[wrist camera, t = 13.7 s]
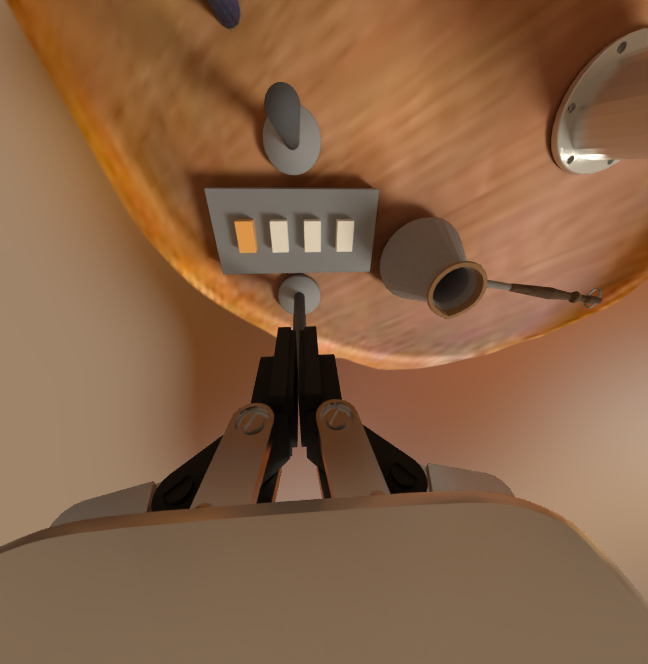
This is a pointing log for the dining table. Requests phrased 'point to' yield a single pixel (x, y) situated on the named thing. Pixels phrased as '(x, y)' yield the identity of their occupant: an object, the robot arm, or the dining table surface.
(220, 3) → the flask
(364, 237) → the breaker strip
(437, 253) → the coffee pot
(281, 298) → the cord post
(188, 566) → the robot arm
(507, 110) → the dining table surface
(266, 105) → the post
